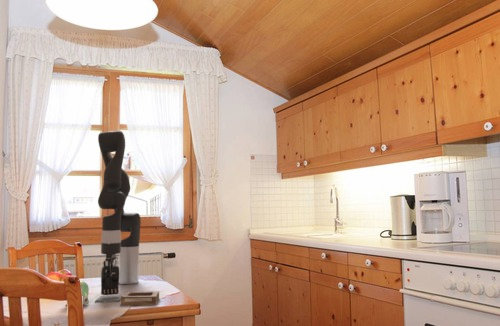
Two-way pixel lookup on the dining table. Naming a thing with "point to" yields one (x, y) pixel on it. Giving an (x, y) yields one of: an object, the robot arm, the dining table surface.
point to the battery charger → (115, 282)
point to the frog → (84, 292)
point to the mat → (109, 298)
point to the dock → (140, 298)
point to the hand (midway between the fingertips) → (110, 284)
